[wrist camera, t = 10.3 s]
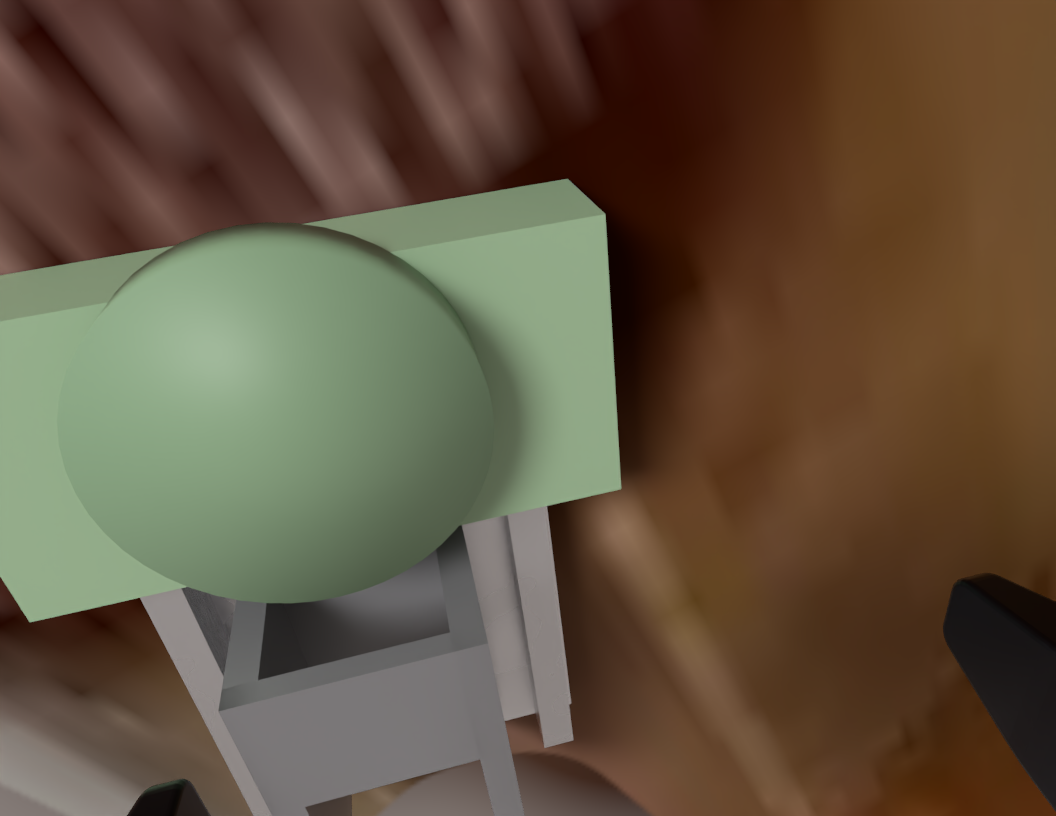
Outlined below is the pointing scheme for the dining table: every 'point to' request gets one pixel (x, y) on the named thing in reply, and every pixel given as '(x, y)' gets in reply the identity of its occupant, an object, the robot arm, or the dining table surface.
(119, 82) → the dining table surface
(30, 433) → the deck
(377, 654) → the chute
